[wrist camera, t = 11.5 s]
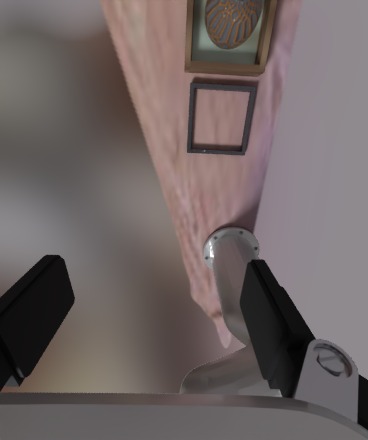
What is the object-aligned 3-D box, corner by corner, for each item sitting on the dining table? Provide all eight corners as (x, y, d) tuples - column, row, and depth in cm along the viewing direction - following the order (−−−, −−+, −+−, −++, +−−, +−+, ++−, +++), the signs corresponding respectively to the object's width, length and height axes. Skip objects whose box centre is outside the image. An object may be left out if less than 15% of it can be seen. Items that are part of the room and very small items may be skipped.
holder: (257, 76, 32) (264, 72, 29) (184, 72, 31) (184, 67, 29) (275, -29, 27) (285, -46, 24) (188, -35, 26) (189, -53, 24)
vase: (230, -24, 26) (251, -88, 18) (260, 26, 28) (290, -12, 21) (192, 24, 28) (196, -15, 20) (222, 67, 31) (237, 47, 23)
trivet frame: (243, 154, 37) (244, 155, 36) (186, 151, 36) (187, 152, 36) (254, 87, 32) (256, 86, 31) (190, 84, 32) (190, 82, 31)
